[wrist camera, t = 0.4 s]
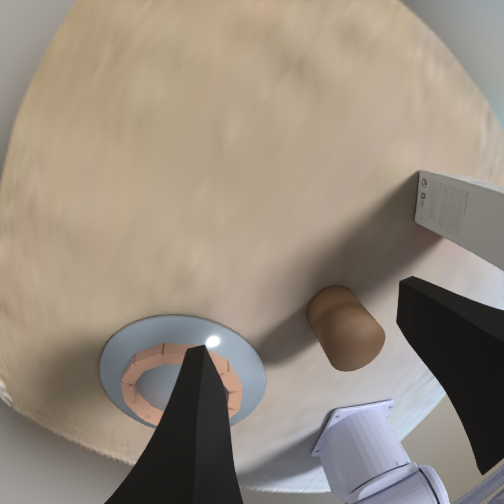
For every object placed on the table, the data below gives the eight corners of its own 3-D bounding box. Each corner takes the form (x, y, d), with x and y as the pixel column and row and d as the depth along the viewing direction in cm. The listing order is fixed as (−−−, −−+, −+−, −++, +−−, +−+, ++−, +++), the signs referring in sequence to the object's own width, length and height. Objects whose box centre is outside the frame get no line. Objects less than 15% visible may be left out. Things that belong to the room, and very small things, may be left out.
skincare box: (412, 223, 21) (533, 293, 10) (417, 168, 19) (553, 210, 8) (461, 223, 21) (566, 279, 10) (467, 175, 20) (582, 214, 9)
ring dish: (252, 430, 26) (255, 444, 25) (114, 421, 24) (111, 434, 22) (278, 319, 22) (284, 333, 20) (89, 304, 19) (82, 318, 18)
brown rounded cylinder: (346, 329, 23) (373, 368, 19) (301, 330, 23) (321, 373, 18) (360, 286, 22) (393, 321, 17) (312, 284, 21) (339, 322, 17)
